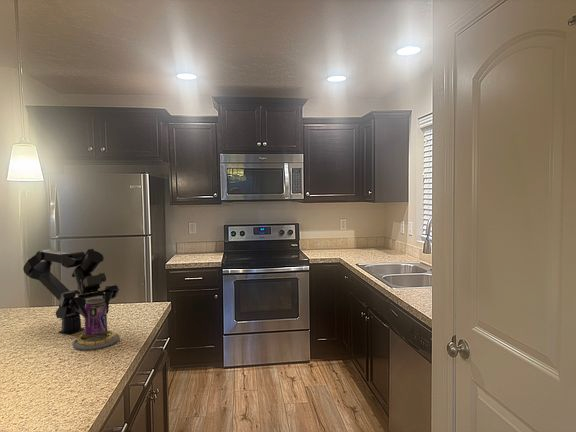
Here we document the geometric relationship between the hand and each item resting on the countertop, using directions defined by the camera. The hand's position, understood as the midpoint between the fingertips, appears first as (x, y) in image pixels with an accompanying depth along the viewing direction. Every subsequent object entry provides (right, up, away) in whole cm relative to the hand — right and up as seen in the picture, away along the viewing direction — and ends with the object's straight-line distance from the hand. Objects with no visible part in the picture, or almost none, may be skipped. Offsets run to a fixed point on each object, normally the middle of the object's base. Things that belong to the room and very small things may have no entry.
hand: (96, 315), depth 137 cm
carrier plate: (-1, -10, +1) cm, 10 cm away
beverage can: (-1, -7, +1) cm, 7 cm away
